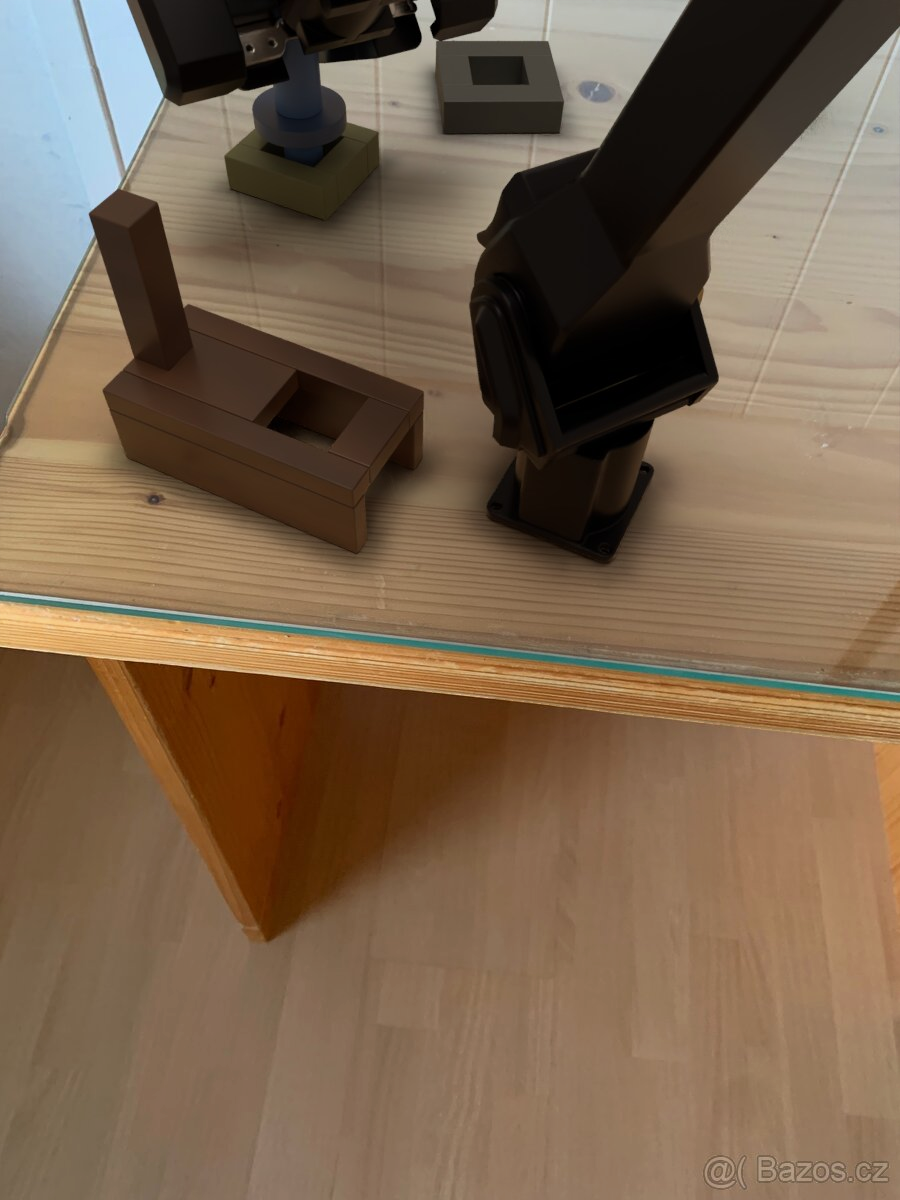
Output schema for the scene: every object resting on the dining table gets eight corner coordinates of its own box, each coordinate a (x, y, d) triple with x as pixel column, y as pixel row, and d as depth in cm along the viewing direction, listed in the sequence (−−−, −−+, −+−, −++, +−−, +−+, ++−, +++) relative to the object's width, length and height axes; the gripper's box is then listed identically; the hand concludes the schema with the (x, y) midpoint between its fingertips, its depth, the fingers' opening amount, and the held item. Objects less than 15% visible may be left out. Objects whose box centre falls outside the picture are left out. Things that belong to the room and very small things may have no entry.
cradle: (326, 221, 57) (323, 188, 56) (229, 188, 59) (223, 155, 57) (380, 164, 61) (379, 131, 59) (287, 134, 62) (283, 102, 61)
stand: (357, 554, 43) (341, 353, 33) (125, 457, 46) (47, 245, 36) (423, 457, 47) (426, 249, 37) (204, 372, 50) (152, 158, 40)
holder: (560, 133, 64) (564, 100, 62) (443, 133, 63) (444, 101, 61) (544, 72, 68) (548, 40, 66) (435, 72, 68) (436, 40, 66)
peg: (347, 203, 58) (336, 35, 50) (257, 201, 58) (231, 30, 50) (352, 153, 62) (343, -15, 53) (266, 150, 61) (244, -18, 53)
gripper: (486, -318, 42) (378, -116, 56) (73, -270, 36) (70, -59, 50) (561, -47, 45) (440, 80, 59) (188, 38, 39) (155, 155, 53)
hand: (285, 61), depth 55 cm, fingers open, 4 cm apart
